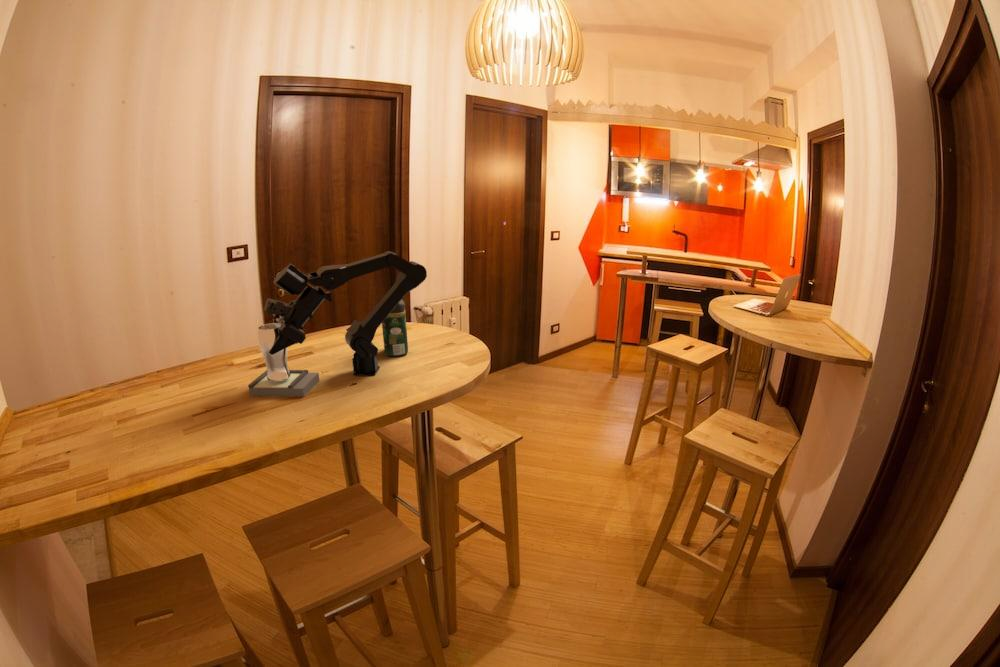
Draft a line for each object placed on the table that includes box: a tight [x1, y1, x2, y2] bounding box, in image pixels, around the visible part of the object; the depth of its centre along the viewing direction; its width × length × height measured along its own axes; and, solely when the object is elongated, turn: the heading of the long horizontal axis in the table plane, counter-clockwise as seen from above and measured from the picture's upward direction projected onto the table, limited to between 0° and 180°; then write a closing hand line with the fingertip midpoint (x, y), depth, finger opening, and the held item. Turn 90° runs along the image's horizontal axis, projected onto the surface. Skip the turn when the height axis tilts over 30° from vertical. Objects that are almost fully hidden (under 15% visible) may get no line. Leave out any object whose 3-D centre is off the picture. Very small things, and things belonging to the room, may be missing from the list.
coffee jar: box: [381, 298, 409, 357], centre depth 166 cm, size 10×8×19 cm
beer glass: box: [256, 322, 291, 382], centre depth 138 cm, size 7×7×15 cm
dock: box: [247, 369, 320, 398], centre depth 142 cm, size 15×11×3 cm
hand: (268, 350), depth 137 cm, fingers closed on beer glass, 6 cm apart
